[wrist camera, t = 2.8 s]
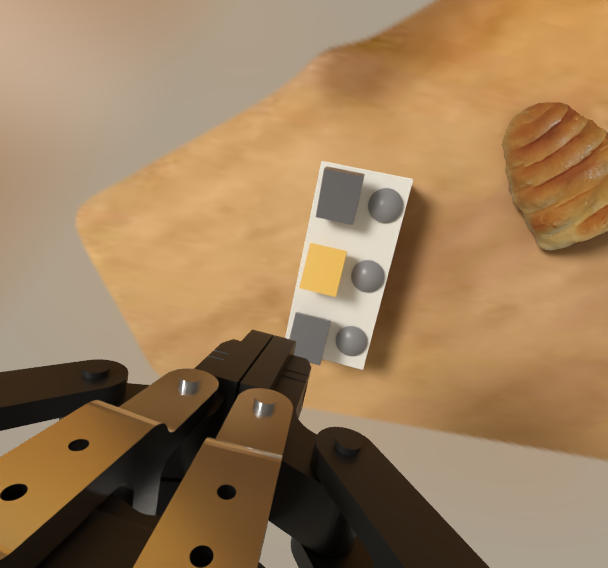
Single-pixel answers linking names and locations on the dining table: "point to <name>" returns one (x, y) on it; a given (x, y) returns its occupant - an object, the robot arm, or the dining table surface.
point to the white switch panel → (355, 264)
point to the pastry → (558, 174)
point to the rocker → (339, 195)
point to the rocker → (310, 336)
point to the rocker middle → (323, 269)
